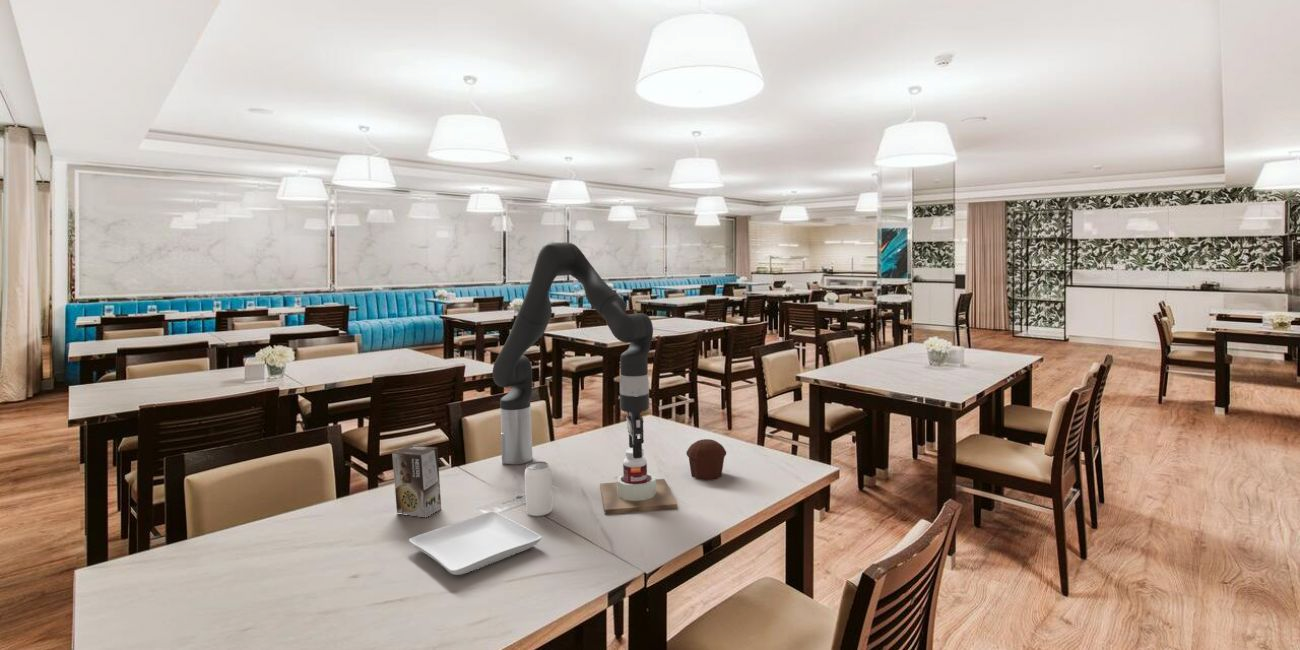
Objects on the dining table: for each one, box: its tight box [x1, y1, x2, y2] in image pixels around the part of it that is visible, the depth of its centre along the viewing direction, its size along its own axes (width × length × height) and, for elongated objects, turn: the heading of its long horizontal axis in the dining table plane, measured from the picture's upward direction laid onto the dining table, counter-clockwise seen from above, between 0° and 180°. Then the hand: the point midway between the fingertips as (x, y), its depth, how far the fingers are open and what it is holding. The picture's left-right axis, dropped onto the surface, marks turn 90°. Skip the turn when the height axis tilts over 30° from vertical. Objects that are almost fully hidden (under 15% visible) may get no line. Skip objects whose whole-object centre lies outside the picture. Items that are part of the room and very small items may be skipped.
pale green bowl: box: [616, 472, 656, 501], centre depth 158 cm, size 10×10×4 cm
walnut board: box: [599, 478, 678, 515], centre depth 158 cm, size 18×18×1 cm
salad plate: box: [408, 510, 543, 576], centre depth 131 cm, size 21×21×3 cm
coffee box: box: [391, 445, 442, 519], centre depth 151 cm, size 9×6×16 cm
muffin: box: [685, 438, 727, 481], centre depth 174 cm, size 12×11×10 cm
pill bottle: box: [622, 447, 648, 484], centre depth 157 cm, size 6×6×11 cm
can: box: [524, 461, 553, 517], centre depth 150 cm, size 6×6×12 cm
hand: (635, 452), depth 157 cm, fingers open, 8 cm apart
